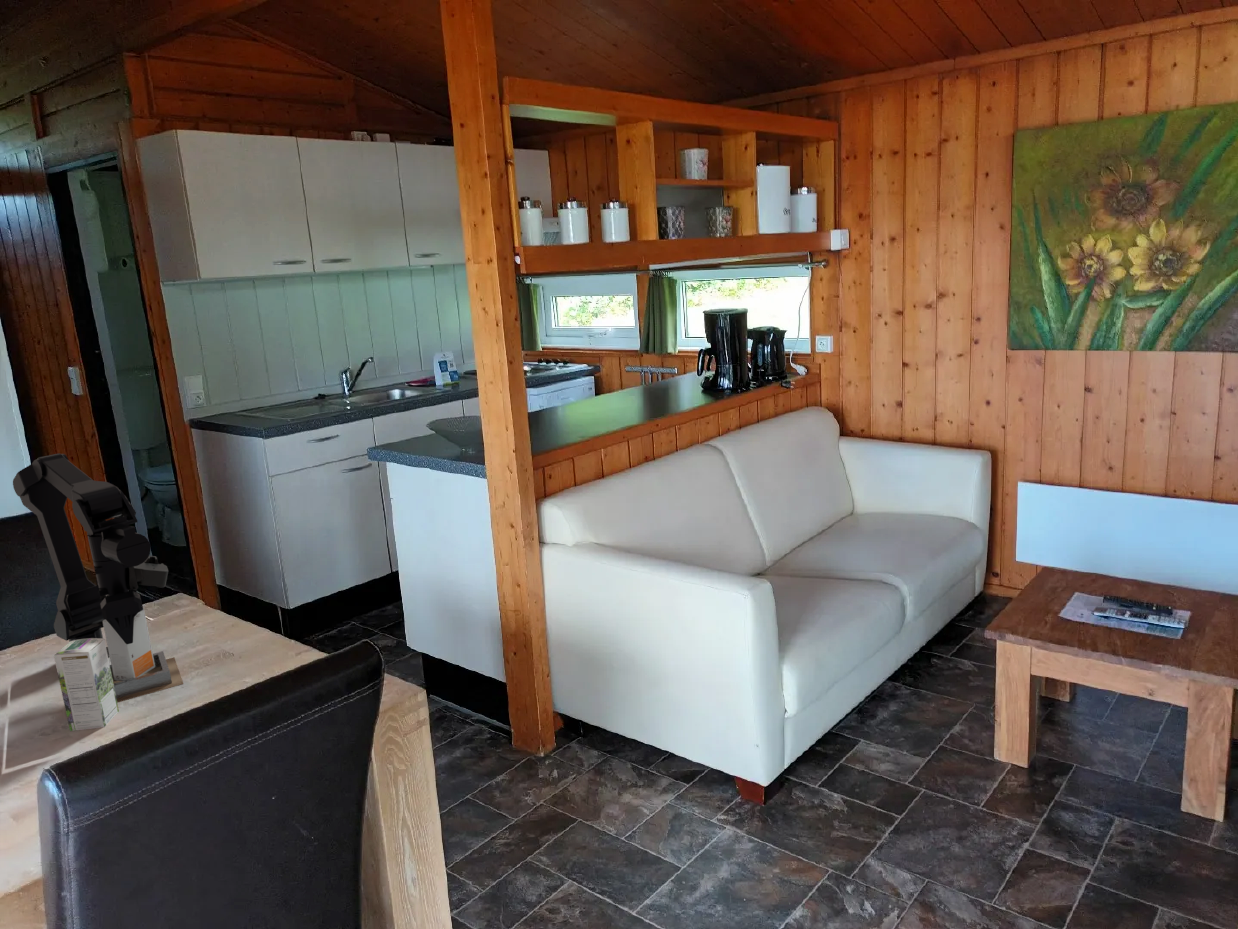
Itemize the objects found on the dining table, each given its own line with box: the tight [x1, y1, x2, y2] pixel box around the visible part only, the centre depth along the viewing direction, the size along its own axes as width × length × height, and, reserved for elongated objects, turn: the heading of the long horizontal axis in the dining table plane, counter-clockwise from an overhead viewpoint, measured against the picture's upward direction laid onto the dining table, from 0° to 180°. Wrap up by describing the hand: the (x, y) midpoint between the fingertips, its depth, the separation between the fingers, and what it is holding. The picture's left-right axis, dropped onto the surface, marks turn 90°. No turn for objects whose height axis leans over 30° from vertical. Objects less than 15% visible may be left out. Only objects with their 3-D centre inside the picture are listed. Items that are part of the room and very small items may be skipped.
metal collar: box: [110, 650, 172, 699], centre depth 170 cm, size 10×10×2 cm
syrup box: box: [53, 637, 120, 732], centre depth 155 cm, size 6×6×14 cm
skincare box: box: [102, 607, 155, 681], centre depth 169 cm, size 6×4×12 cm
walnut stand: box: [113, 657, 184, 703], centre depth 170 cm, size 14×14×1 cm
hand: (128, 636), depth 168 cm, fingers closed on skincare box, 7 cm apart
